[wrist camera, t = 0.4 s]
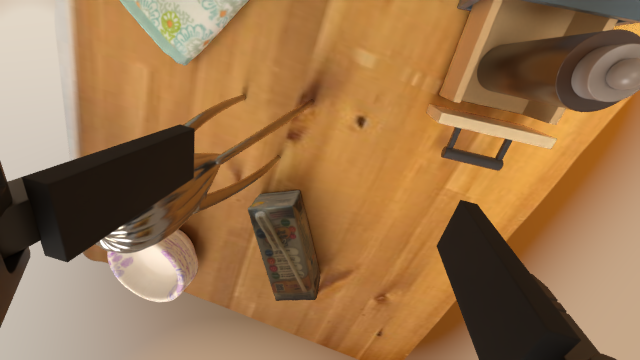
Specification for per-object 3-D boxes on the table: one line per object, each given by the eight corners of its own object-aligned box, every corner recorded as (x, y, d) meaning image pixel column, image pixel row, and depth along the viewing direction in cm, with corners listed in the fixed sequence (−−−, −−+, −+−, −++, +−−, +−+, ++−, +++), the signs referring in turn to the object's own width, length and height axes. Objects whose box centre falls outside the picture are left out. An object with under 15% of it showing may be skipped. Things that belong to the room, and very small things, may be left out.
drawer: (503, 163, 37) (530, 184, 31) (414, 142, 38) (424, 158, 32) (593, -5, 29) (655, -23, 22) (477, -27, 29) (505, -51, 23)
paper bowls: (126, 215, 54) (89, 238, 46) (192, 209, 50) (162, 234, 43) (156, 274, 59) (127, 303, 52) (217, 272, 56) (195, 303, 49)
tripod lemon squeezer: (315, 100, 39) (192, 190, 11) (279, 160, 43) (131, 323, 16) (257, 61, 38) (-23, 58, 11) (227, 126, 42) (-21, 238, 15)
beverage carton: (303, 187, 45) (292, 207, 39) (323, 276, 52) (317, 304, 46) (259, 192, 46) (243, 211, 40) (284, 277, 53) (273, 304, 47)
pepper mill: (488, 39, 31) (625, 13, 14) (534, 49, 30) (727, 34, 14) (469, 86, 33) (568, 109, 17) (512, 95, 33) (656, 128, 16)
